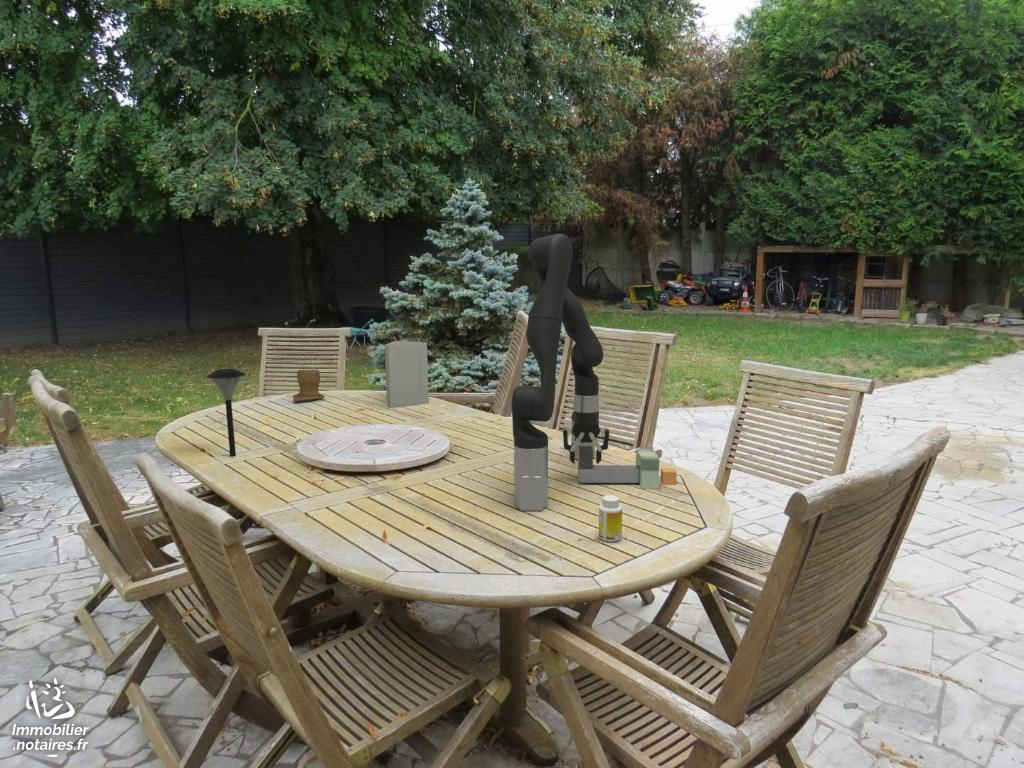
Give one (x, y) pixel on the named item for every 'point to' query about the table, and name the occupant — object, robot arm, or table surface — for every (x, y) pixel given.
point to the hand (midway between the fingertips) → (585, 462)
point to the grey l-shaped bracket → (604, 470)
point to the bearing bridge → (648, 468)
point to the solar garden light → (227, 397)
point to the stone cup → (308, 386)
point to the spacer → (668, 476)
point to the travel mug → (581, 443)
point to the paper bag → (406, 373)
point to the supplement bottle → (610, 519)
